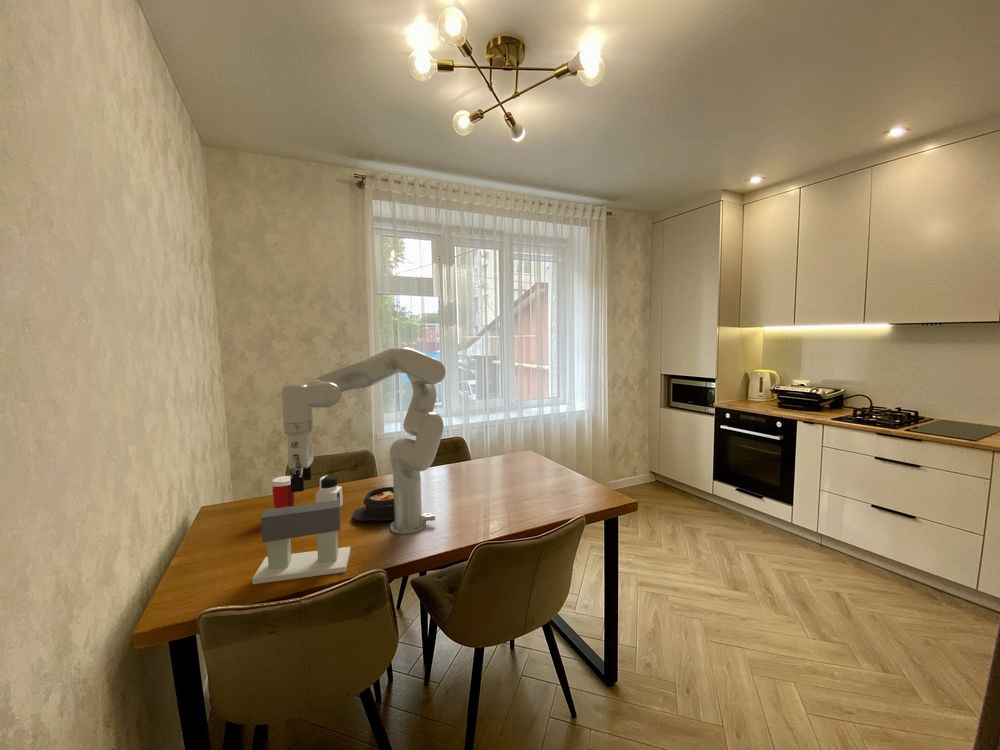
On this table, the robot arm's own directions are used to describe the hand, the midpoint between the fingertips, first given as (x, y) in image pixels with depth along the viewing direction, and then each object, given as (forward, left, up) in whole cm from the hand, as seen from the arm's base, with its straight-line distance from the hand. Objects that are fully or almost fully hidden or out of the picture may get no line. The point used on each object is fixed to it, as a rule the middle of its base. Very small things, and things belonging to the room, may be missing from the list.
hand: (301, 485), depth 119 cm
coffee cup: (+15, -39, -24) cm, 48 cm away
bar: (0, 0, -14) cm, 14 cm away
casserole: (-22, -32, -25) cm, 46 cm away
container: (0, -44, -25) cm, 50 cm away
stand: (0, 0, -24) cm, 24 cm away
